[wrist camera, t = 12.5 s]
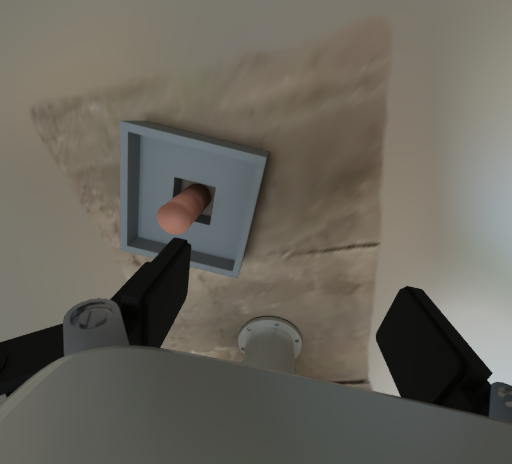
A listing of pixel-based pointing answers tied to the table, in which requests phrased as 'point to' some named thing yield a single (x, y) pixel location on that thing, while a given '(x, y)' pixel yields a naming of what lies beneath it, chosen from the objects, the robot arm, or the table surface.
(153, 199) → the tray
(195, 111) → the table surface
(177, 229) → the peg
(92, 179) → the table surface
